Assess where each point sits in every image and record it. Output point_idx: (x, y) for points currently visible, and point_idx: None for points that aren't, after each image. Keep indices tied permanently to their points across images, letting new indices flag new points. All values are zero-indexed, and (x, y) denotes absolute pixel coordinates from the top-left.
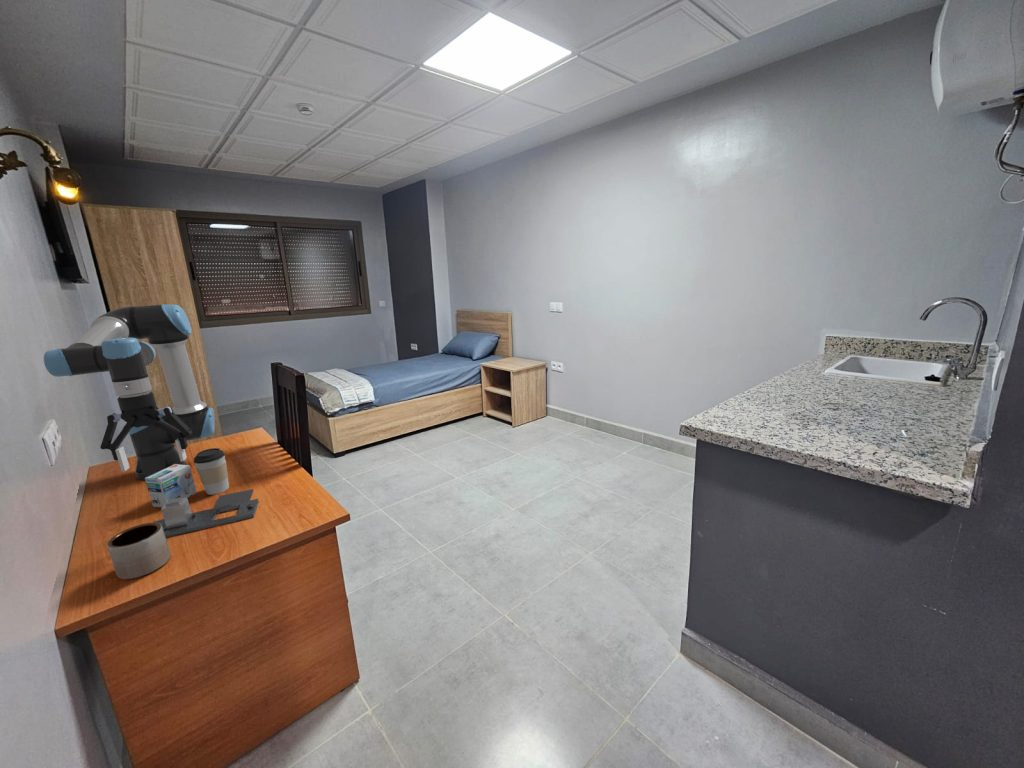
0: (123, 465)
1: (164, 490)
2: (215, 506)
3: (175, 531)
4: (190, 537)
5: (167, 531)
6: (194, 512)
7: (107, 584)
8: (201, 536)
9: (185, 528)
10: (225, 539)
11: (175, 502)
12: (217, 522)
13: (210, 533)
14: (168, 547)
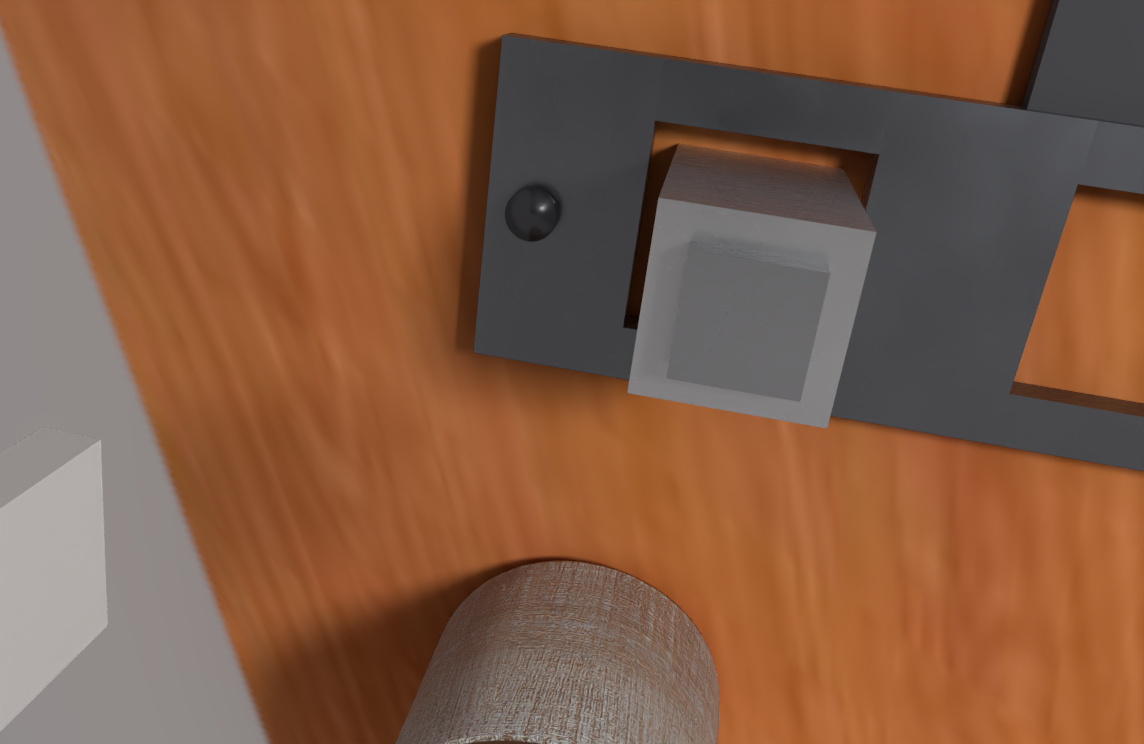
0: (15, 715)
1: None
2: (1069, 22)
3: None
4: (826, 491)
5: None
6: (864, 85)
7: None
8: (904, 531)
9: None
10: (1065, 689)
11: (770, 393)
12: (1051, 451)
13: (971, 529)
14: (717, 734)
